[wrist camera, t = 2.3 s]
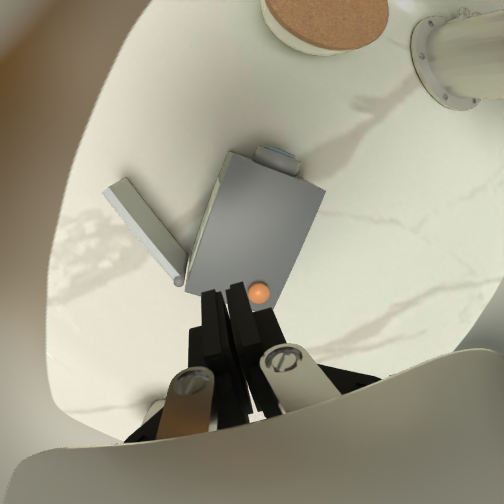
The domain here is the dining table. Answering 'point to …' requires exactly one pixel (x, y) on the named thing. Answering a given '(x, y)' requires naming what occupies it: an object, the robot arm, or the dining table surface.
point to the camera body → (253, 227)
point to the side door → (148, 229)
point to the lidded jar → (325, 23)
